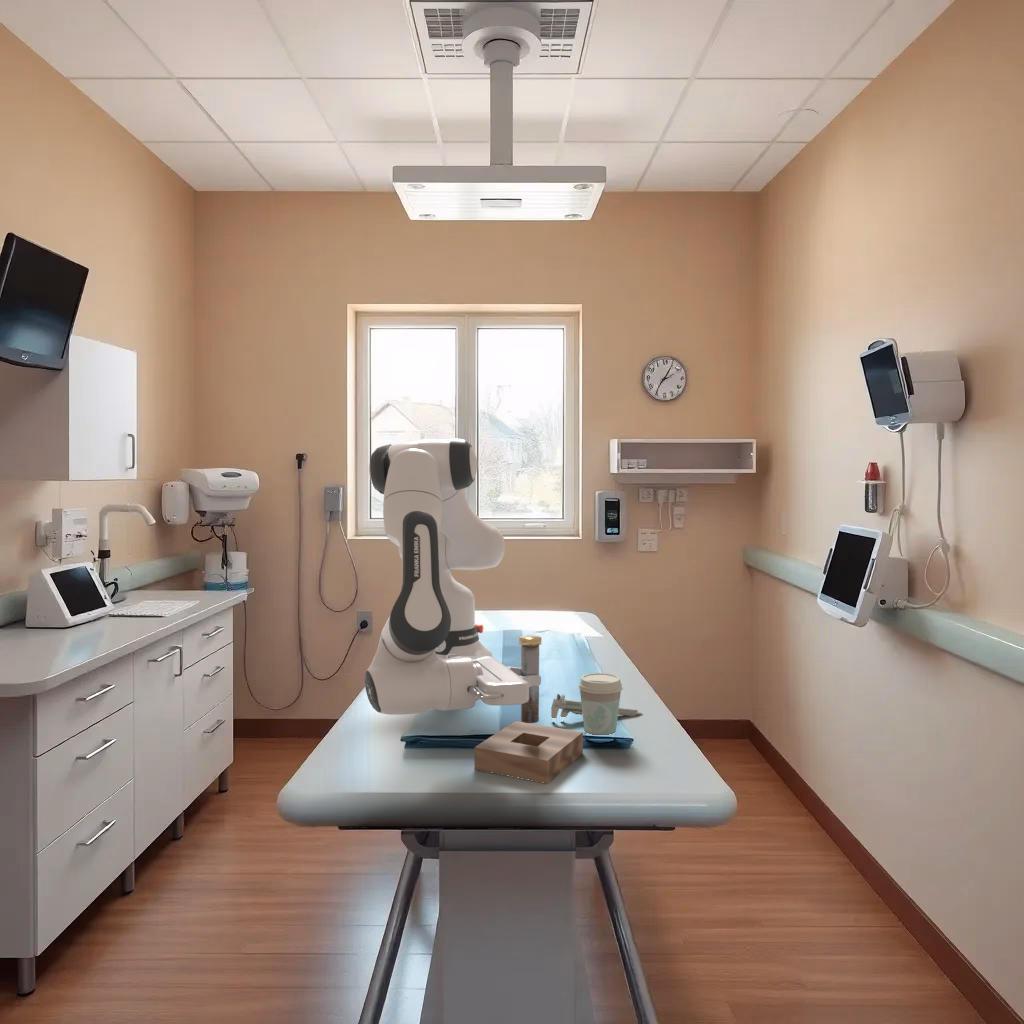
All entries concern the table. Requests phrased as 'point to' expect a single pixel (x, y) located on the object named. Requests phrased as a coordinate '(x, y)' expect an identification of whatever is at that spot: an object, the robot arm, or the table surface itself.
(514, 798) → the table surface
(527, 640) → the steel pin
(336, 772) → the table surface
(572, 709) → the caliper
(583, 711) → the coffee cup
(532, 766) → the walnut block
